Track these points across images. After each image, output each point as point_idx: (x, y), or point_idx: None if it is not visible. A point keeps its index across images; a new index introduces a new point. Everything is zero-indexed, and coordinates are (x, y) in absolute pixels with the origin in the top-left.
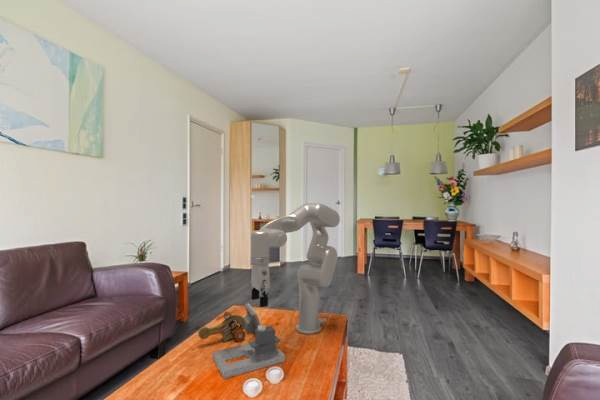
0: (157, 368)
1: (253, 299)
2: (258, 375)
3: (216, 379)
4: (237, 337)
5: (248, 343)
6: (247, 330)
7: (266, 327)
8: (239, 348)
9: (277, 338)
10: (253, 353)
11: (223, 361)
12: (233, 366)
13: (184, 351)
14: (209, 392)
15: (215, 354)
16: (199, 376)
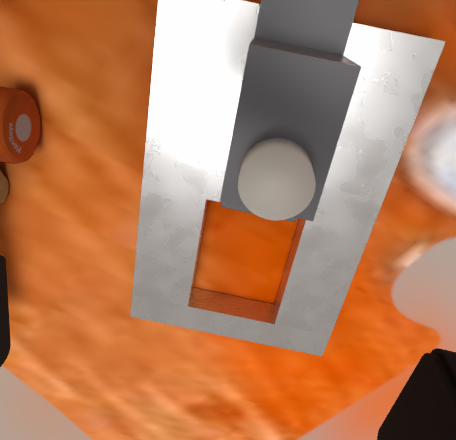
0: (103, 434)
1: (9, 340)
2: (412, 230)
3: None
4: (28, 146)
5: (149, 144)
6: None
7: (256, 105)
8: (175, 214)
9: (318, 5)
10: None
11: (244, 324)
12: (315, 315)
13: (22, 347)
14: (352, 393)
15: (162, 320)
16: (238, 378)
